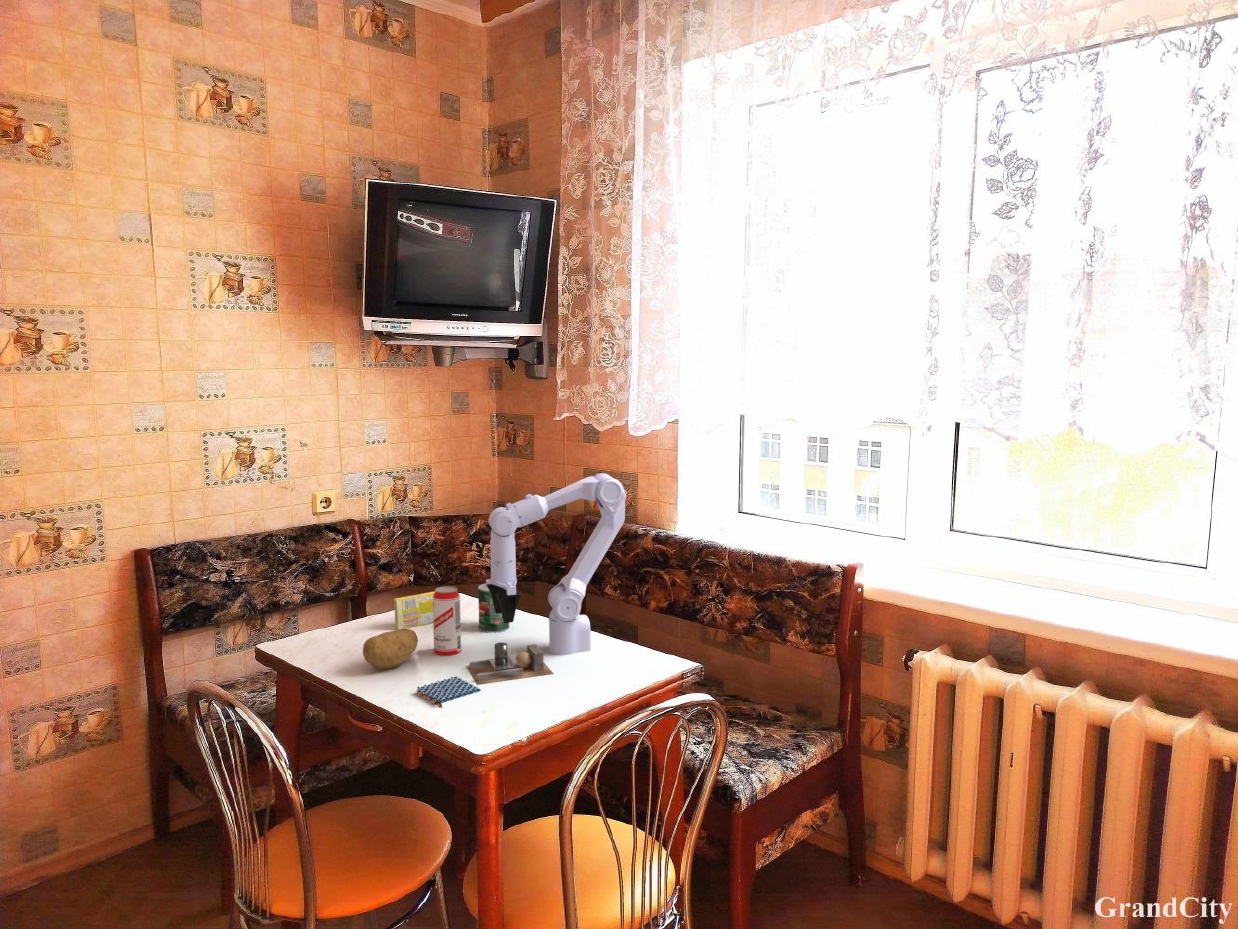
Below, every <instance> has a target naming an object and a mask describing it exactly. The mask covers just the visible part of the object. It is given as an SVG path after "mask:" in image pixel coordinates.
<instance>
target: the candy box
mask: <svg viewBox="0 0 1238 929" xmlns="http://www.w3.org/2000/svg"><path fill="white" fill-rule="evenodd" d="M434 593H435V590H434V591H429V592H424V593H419V594H413V595H407V596H402V597H396V598H394V599H393V607H394V608H393V610H394V624H395V625H394V626H395V627H394V628H395V630H398V629H407V628H408V629H411V628H412V627H413V628H418V627H423V626H426V625H433V595H434ZM417 626H418V627H417ZM413 628H412V629H413Z"/></svg>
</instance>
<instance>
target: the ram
mask: <svg viewBox="0 0 1238 929" xmlns="http://www.w3.org/2000/svg"><path fill="white" fill-rule="evenodd" d="M515 658H516V657H514V655H513V654H508V643H507V642H496V643H494V658H493V659H494V660H489V667H490V668H491V670H492V671H493V672H495V671H502V670H510V669H517V660H516V659H515Z"/></svg>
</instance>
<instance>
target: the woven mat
mask: <svg viewBox="0 0 1238 929" xmlns="http://www.w3.org/2000/svg"><path fill="white" fill-rule="evenodd" d="M416 688H417V689H416V692H417V693H418V694H417V693H415V695H416V694H417V695H418V696H419V697H421V696H420V695H422V697H423V698H422V699H424V700H426V701H428V700H430V701H429V703H431V704H433V705H437V706H436V707H437V708H443V707H442V706H443V704H444V702H448V701H451V700H454V699H455V700H456V699H458V698H461V697H462V698H463V697H465V696H467V695H471V694H474V693H478V692H481V688H479V687H478V686H475V685H474V684H472V683H470V682H468V681H467V680H464V679H463V678H461V677H458V676H454V677H453V676H450V678H447V679H446V678H444V679H443V680H441V681H440V680H437V681H435V682H434V683H433V682H430V684H424V685H422V686H421V687H420V686H417V687H416ZM427 698H428V699H427Z"/></svg>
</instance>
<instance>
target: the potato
mask: <svg viewBox="0 0 1238 929" xmlns="http://www.w3.org/2000/svg"><path fill="white" fill-rule="evenodd" d="M418 641H419V639H418V635H417V633H416V631H414V630H413V629H411V628H408V629H398V630H396V629H395V630H390V631H386V632H385V631H384V632H383V633H380V634H377V635H374V636H371V637H369V638H368V639H366V640H365V642H364V644H363V646H362V655H363V658H364V660H365V661H366V662H367V663H368V664H369V665H371V666H372V667H375V668H379V669H392V668H393V669H394V668H398V667H399V666H401V665H403V664H404V663H405V662H406V661H407V660H409V659H410V657H411V656H412V655H413V653H414V652H415V651H416V648H417V646H418Z"/></svg>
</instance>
